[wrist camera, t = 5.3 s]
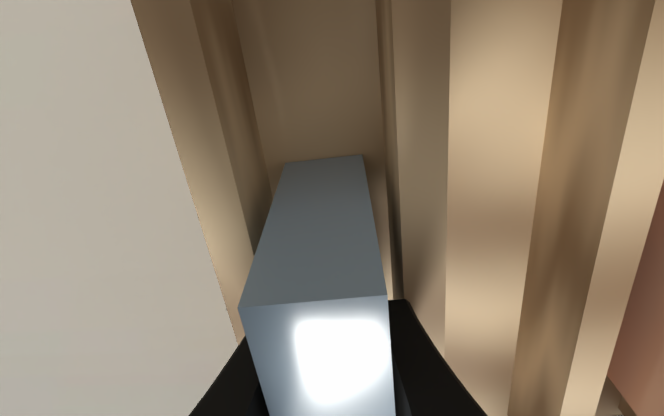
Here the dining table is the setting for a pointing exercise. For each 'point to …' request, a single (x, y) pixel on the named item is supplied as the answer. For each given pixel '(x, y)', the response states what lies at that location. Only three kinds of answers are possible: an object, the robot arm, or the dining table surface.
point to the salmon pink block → (644, 328)
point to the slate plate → (320, 296)
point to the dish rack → (441, 162)
